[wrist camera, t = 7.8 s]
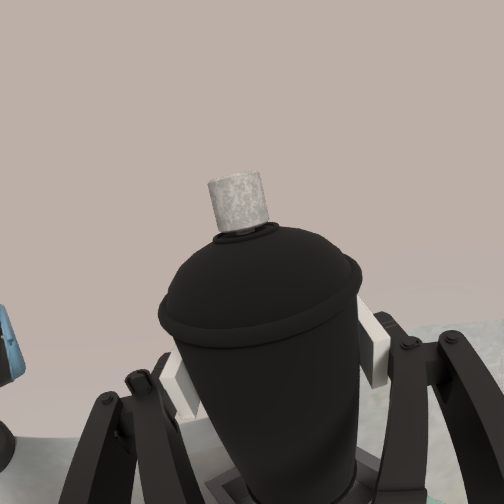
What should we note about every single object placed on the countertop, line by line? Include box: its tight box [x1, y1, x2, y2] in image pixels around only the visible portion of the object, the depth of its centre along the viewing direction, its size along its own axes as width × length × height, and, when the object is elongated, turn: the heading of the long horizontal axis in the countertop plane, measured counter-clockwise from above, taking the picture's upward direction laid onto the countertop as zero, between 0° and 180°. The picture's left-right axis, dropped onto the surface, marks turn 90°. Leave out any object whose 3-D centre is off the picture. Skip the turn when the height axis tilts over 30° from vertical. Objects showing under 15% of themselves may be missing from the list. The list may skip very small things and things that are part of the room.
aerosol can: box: [158, 170, 362, 504], centre depth 12 cm, size 8×8×20 cm
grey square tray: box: [205, 446, 381, 504], centre depth 16 cm, size 13×13×4 cm
